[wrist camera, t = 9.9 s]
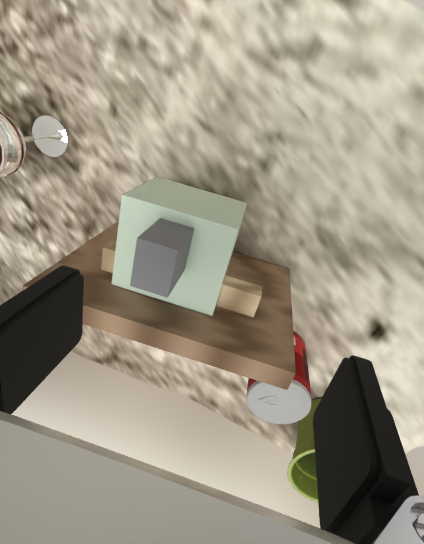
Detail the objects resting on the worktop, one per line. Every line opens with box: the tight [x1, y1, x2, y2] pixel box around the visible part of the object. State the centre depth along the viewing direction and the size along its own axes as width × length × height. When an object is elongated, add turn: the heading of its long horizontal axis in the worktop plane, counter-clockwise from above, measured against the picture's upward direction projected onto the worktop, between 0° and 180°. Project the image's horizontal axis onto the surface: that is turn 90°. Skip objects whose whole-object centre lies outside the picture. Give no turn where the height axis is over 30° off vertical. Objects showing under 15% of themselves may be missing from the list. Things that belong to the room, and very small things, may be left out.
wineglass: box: [0, 112, 68, 177], centre depth 37 cm, size 7×7×12 cm
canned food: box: [247, 332, 311, 424], centre depth 45 cm, size 8×8×11 cm
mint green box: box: [112, 177, 248, 316], centre depth 30 cm, size 10×9×14 cm
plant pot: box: [287, 398, 322, 502], centre depth 49 cm, size 12×12×11 cm
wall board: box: [23, 221, 296, 390], centre depth 37 cm, size 24×10×20 cm, turn 76°
